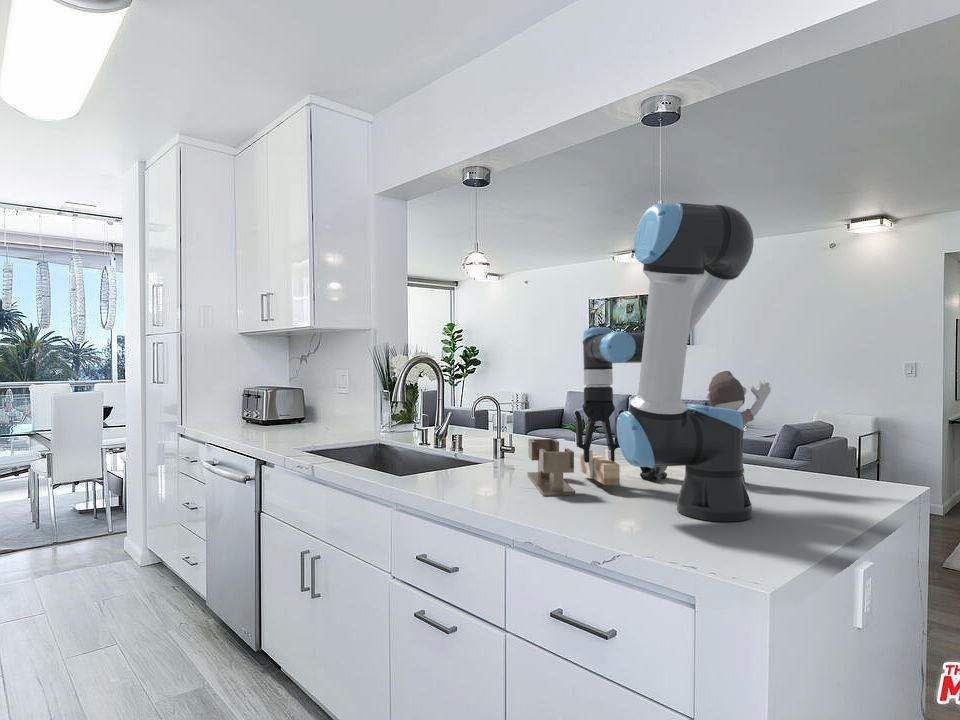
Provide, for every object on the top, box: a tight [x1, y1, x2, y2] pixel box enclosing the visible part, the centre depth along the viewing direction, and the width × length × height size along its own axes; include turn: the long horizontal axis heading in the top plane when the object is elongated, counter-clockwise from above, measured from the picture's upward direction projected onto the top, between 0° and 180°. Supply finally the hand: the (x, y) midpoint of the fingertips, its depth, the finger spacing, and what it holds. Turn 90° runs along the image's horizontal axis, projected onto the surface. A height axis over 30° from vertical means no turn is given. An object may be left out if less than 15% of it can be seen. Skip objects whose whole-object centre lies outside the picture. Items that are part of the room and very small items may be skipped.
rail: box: [580, 452, 621, 486], centre depth 161 cm, size 20×4×5 cm, turn 7°
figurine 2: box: [705, 370, 772, 485], centre depth 163 cm, size 18×9×30 cm, turn 84°
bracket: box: [526, 438, 576, 497], centre depth 160 cm, size 25×8×10 cm, turn 4°
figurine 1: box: [639, 466, 668, 482], centre depth 167 cm, size 10×10×15 cm
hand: (599, 474), depth 160 cm, fingers closed on rail, 4 cm apart
